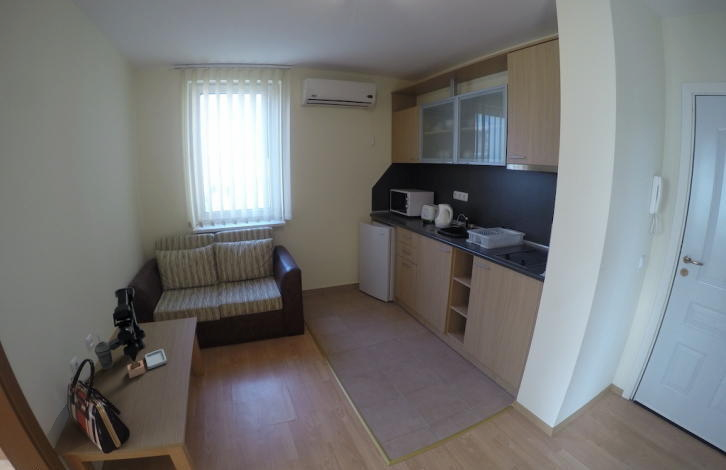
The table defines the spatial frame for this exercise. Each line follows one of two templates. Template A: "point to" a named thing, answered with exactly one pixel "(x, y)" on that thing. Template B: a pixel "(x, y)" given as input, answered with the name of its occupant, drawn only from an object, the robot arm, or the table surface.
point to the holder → (136, 369)
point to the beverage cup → (104, 354)
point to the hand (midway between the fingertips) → (133, 356)
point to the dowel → (134, 363)
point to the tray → (155, 359)
